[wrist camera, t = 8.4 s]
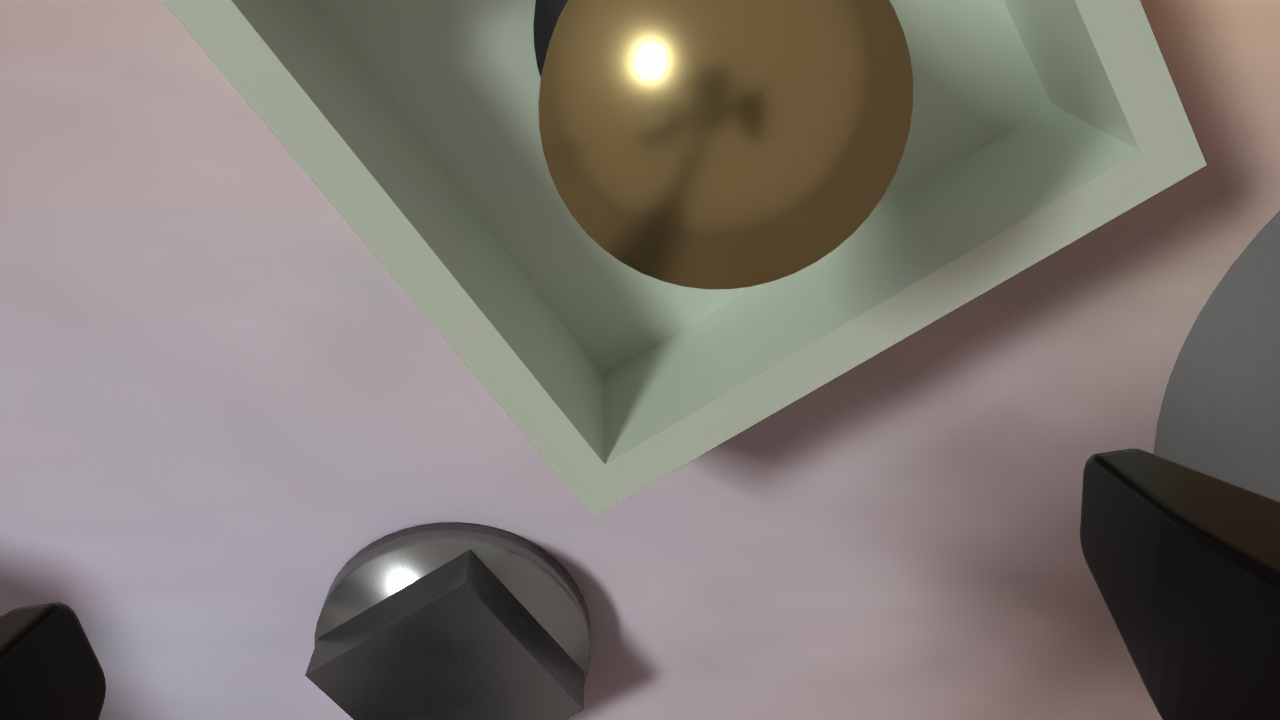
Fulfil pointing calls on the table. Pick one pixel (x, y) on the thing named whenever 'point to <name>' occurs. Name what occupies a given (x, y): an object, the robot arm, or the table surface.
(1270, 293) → the tape roll
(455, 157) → the bin
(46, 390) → the table surface
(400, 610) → the disc with square block
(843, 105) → the brass cabinet knob
